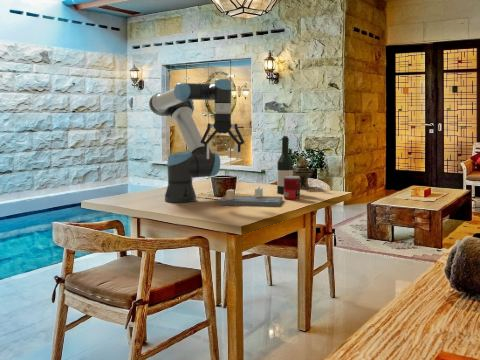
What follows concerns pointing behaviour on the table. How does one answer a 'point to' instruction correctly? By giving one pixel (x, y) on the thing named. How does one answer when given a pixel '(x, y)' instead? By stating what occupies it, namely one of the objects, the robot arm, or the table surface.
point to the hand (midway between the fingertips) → (222, 159)
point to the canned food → (291, 187)
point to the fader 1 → (230, 194)
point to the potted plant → (302, 172)
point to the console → (252, 201)
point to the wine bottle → (283, 166)
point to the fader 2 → (258, 192)
